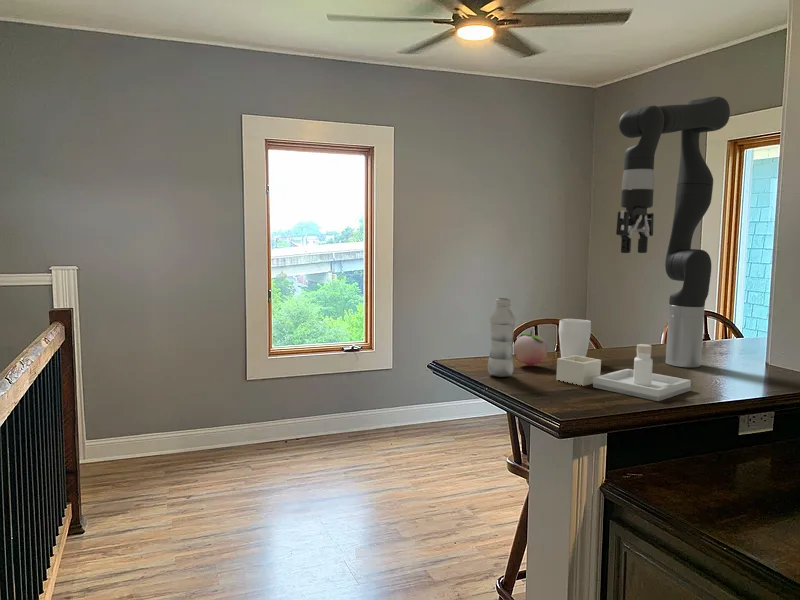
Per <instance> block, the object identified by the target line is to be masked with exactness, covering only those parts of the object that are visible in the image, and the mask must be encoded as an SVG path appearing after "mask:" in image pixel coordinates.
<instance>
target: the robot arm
mask: <svg viewBox="0 0 800 600" xmlns="http://www.w3.org/2000/svg"><path fill="white" fill-rule="evenodd" d="M730 116H731V107H730V104H729V102H728V100H727V99H726V98H724V97H722V96H709V97H704V98H697V99H692V100H689V101H687V102H686V103H685V104H669V105H668V104H667V105H659V106H657V105H648V106H643V107H642V106H641V107H638V108H631V109H629V110H627V111H625V112H623V113H622V115H621V116H620V118H619V121H618V129H619V131H620V133H621V135H623V136H624V137H626V138H629V139H635V138H640V139H639V141H638V142H637V143H636V144H635V145H632V146H630V147H628V148H627V149H626V150H625V152H624V158H623V159H624V160H623V161H624V164H623V173H622V175H623V176H622V179H621V180H622V181H621V197H620V199H621V200H620V207H621V208H623V209H625V210H618V212H617V219H616V220H617V221H616V232H615V234H616V235H617V236H619V238H620V239H621V243H620V244H621V245H620V253H621V254H630V253H631V247H632V235H633V233H634V232H636V233H637V237H638V240H637V253H639V254H647V252H648V242H649V239H650V237H653V236H654V221H655V220H654V218H655V217H654V213H653V212H648V209H650V208H652V207H653V204H654V192H655V191H654V190H655V189H654V188H655V174H654V173H655V172H654V171H655V169H654V168H655V154H656V152H657V148H658V145H659V141H660V139H661V135H663V134H670V133H671V134H672V133H677V132H680V158H679V168H678V176H677V183H676V190H675V191H676V192H675V204H674V212H673V218H672V219H673V220H672V226H671V227H672V228H671V233H670V237H669V242H668V247H667V251H666V255H665V264H664V265H665V273H666V274H667V276H668V278H669V279H670V280H673V281H677V282H678V281H679V282H682V283H683V284H682V286H681V287H682V288H681V289H680V290H678V291H677V292H674V293H672V294H670V296H669V298H668V300H669V301H668V314H667V316H668V318H667V334H666V348H665V364H667V365H669V366H674V367H680V368H699V367H701V364H702V351H703V350H702V349H703V339H704V338H703V336H704V323H705V322H704V321H705V310H706V309H705V308H706V307H705V305H706V300H707V299H708V296H709V293H710V292H709V291H710V282H711V277H712V259H711V256H710V254H709V253H708V252H707V251H705V250H704V249H697V248H692V247H691V246H692V242H693V236H694V233H695V230H696V228H697V226H698V225H699V223H700V222H701V220H702V219H703V217H705V214H706V213H707V211H708V210H709V207H710V206H711V203H712V198H713V189H714V177H713V174H712V171H711V170H710V168H709V166H708V164H707V162H706V161H705V159H704V157H703V156H702V153H701V149H700V133H701V134H702V133H707V132H708V133H709V132H715V131H719V130H721V129H723V128H724V127H725V126H726V125H727V124H728V122H729V120H730Z"/></svg>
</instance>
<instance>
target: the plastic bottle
mask: <svg viewBox="0 0 800 600" xmlns="http://www.w3.org/2000/svg"><path fill="white" fill-rule="evenodd" d="M494 306H495V309H494V310H493V312H492V313H491V314H490V317H489V328H490V340H491V341H490V351H489V357H488V362H487V372H488V373H489V375H490V376H494V377H498V378H505V377H510V376H512V374H513V373H514V369H515V365H514V364H515V363H514V359H513V356H514V355H513V344H514V343H513V341H514V334H515V333H514V332H515V327H516V322H517V319H516V316H515V314H514V312H513V310H511V307H512V303H511V298H506V297H505V298H504V297H497V298H495V304H494Z"/></svg>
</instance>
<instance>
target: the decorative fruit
mask: <svg viewBox="0 0 800 600" xmlns="http://www.w3.org/2000/svg"><path fill="white" fill-rule="evenodd" d="M532 333H533V331H532V330H531V331H530V333H525V332H522V333H521V334H520V336H519V337H518V338H517V339H516V340H515V342H514V343H513V344H514V345H513V351H514V354H515V356H516V358H517V359H518V360H519V361H520V362H522V363H523V364H525V365H526V366H528V367H529V366H531V367H533V366H535V365H537V364H540V363H541V362H542V361H543V360H544V359H545V358H546V356H547V355H548V351H549V348H548V344H547V342H546V341H545V340H544V339H543V338H542V337H541V336H540V335H537V334H536V335H532Z"/></svg>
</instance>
